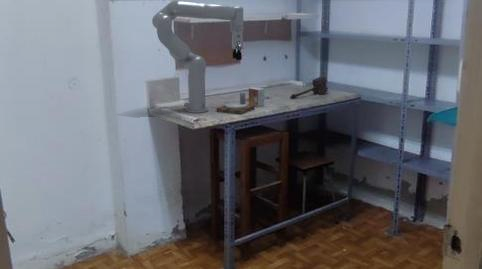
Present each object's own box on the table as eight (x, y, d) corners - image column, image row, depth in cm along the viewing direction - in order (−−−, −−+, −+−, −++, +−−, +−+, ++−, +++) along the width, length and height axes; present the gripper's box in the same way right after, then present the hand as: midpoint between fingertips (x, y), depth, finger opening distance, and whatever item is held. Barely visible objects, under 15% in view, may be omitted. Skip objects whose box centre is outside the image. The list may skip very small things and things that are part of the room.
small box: (248, 105, 298) (248, 88, 296) (254, 104, 302) (254, 87, 299) (258, 107, 293) (258, 89, 290) (264, 106, 296) (264, 88, 294)
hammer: (328, 91, 335) (327, 77, 332) (295, 107, 317) (293, 92, 313) (320, 90, 340) (319, 76, 337) (288, 105, 322) (286, 91, 318)
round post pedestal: (239, 109, 275) (239, 96, 274) (221, 107, 281) (221, 94, 280) (250, 105, 285) (250, 93, 284) (232, 104, 291) (232, 91, 289)
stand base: (216, 111, 281) (216, 107, 280) (230, 106, 294) (230, 103, 294) (241, 114, 273) (241, 110, 273) (254, 109, 287) (254, 105, 286)
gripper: (246, 29, 274) (246, 60, 279) (240, 28, 291) (240, 57, 295) (233, 29, 273) (233, 60, 277) (227, 28, 290) (228, 57, 294)
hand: (237, 59), depth 286 cm, fingers open, 9 cm apart
